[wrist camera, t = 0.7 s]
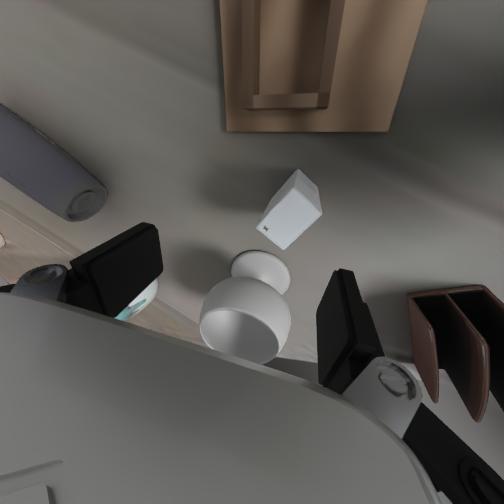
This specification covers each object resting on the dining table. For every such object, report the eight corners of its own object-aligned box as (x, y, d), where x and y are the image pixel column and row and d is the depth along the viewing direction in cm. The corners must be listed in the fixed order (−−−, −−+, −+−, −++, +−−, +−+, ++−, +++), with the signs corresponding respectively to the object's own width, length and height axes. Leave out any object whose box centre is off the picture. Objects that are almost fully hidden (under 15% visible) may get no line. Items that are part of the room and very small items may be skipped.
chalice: (257, 230, 36) (228, 284, 23) (311, 280, 38) (310, 352, 26) (215, 271, 43) (175, 328, 31) (262, 310, 46) (244, 378, 33)
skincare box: (291, 215, 33) (282, 252, 23) (271, 198, 32) (253, 228, 22) (319, 186, 29) (324, 214, 20) (298, 166, 29) (291, 185, 19)
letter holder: (483, 283, 31) (588, 376, 19) (476, 363, 39) (547, 464, 27) (405, 292, 35) (453, 374, 23) (413, 363, 43) (451, 451, 31)
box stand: (452, -99, 16) (491, -162, 13) (384, 131, 24) (397, 132, 21) (220, -53, 20) (202, -90, 17) (229, 131, 29) (218, 131, 25)
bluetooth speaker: (4, 134, 39) (-80, 135, 30) (1, 84, 34) (-100, 68, 25) (107, 212, 42) (57, 233, 34) (118, 178, 37) (63, 191, 29)
